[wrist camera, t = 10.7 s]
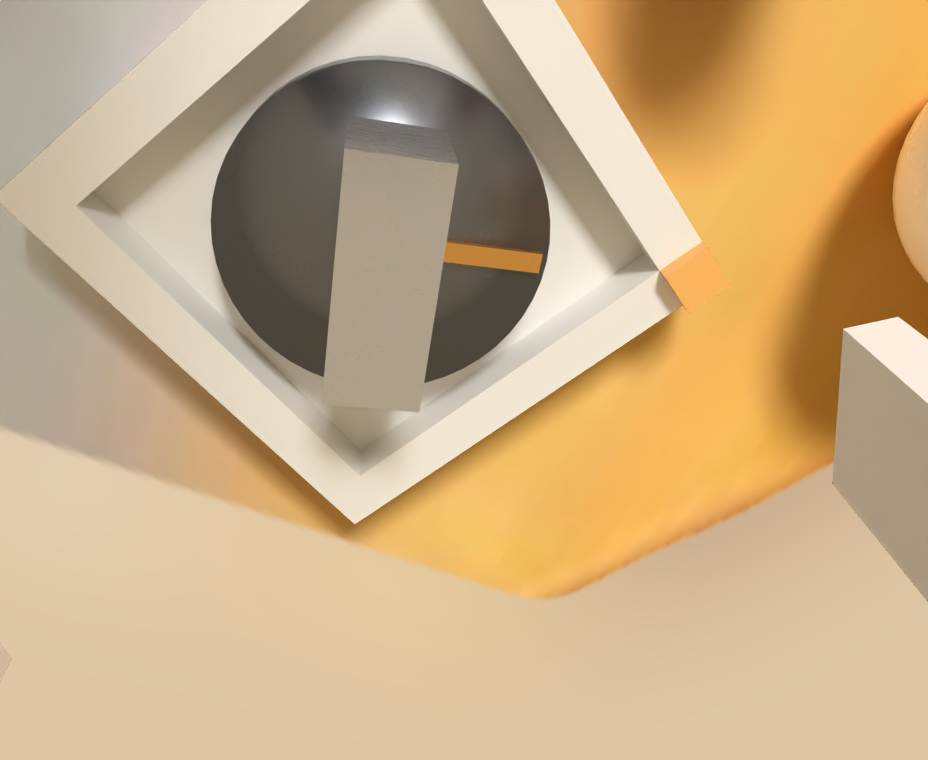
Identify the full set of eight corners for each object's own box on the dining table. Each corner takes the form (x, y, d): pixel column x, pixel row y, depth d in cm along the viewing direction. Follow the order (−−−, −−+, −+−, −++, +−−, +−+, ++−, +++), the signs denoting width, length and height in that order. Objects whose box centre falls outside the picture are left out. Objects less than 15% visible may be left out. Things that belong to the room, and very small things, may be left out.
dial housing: (30, 171, 31) (-18, 203, 28) (424, -188, 27) (432, -209, 23) (356, 479, 40) (354, 535, 36) (693, 248, 36) (731, 285, 32)
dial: (216, 352, 34) (182, 439, 28) (221, 27, 28) (179, 51, 22) (509, 381, 36) (535, 467, 30) (573, 85, 30) (622, 121, 24)
